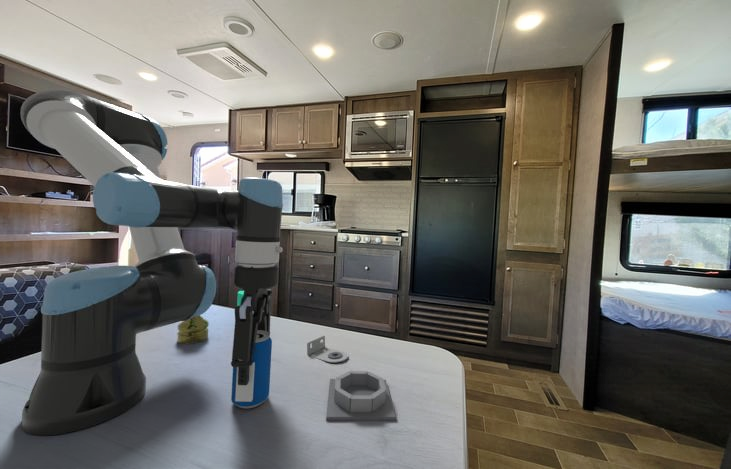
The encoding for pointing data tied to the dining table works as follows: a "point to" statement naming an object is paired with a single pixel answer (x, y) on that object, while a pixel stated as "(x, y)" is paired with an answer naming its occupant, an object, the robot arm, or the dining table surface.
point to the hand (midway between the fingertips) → (251, 388)
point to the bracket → (328, 355)
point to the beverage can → (257, 371)
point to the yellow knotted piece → (193, 330)
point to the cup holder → (359, 397)
